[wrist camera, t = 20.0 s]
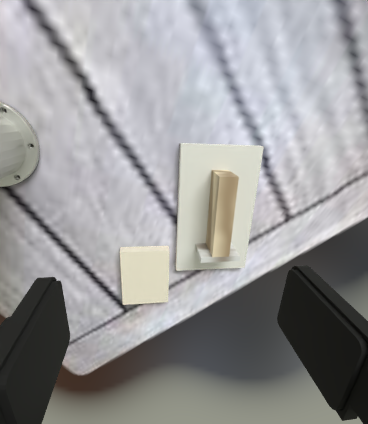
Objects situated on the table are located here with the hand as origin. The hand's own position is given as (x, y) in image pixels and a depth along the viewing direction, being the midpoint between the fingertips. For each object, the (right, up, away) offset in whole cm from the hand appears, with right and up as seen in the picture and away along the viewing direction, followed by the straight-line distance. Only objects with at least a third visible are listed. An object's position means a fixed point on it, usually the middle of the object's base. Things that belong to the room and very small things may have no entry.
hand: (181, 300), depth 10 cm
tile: (-7, -3, +35) cm, 36 cm away
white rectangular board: (+6, +4, +35) cm, 36 cm away
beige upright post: (+6, +3, +34) cm, 35 cm away
